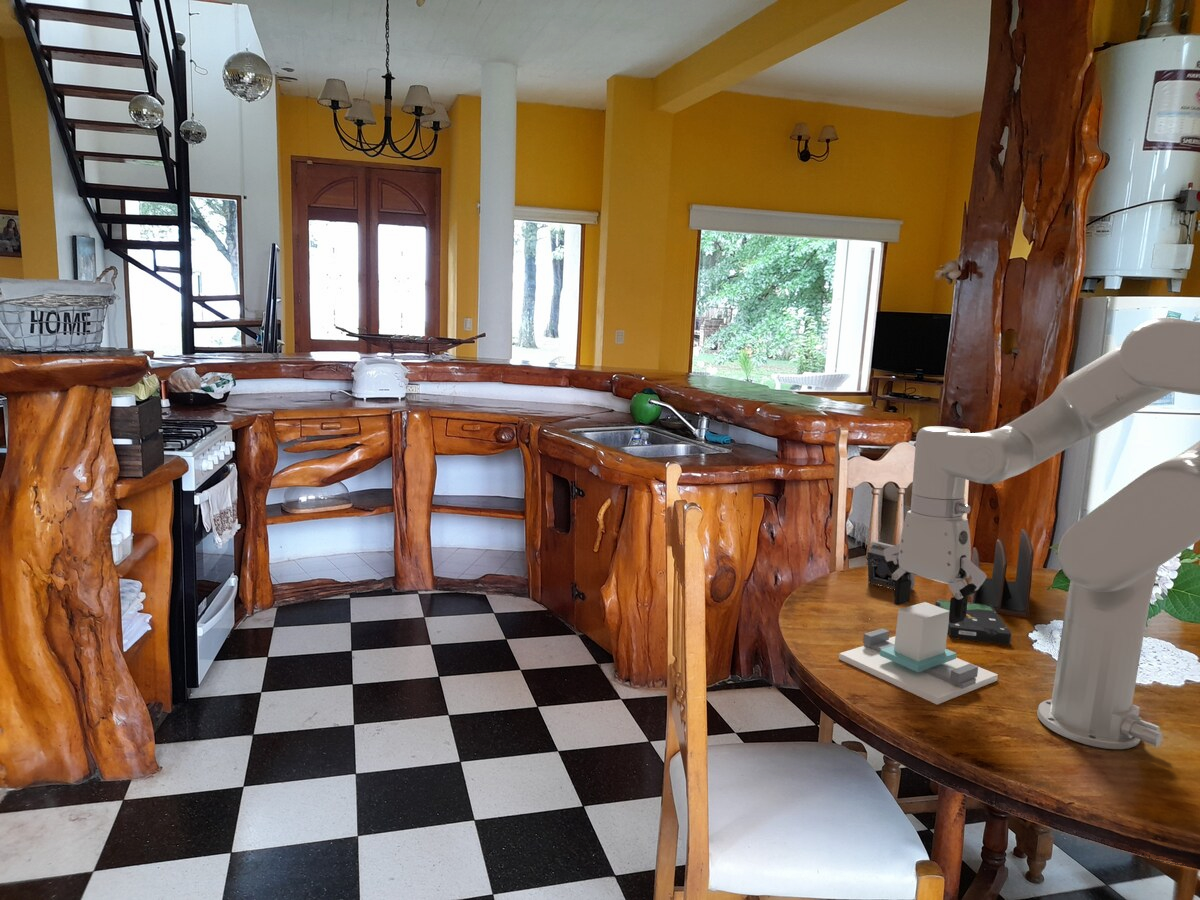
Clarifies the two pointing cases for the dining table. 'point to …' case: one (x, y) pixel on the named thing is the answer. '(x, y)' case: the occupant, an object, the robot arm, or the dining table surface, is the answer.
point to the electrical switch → (881, 566)
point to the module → (921, 631)
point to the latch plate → (917, 665)
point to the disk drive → (978, 624)
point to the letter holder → (999, 590)
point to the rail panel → (927, 683)
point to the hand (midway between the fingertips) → (928, 612)
